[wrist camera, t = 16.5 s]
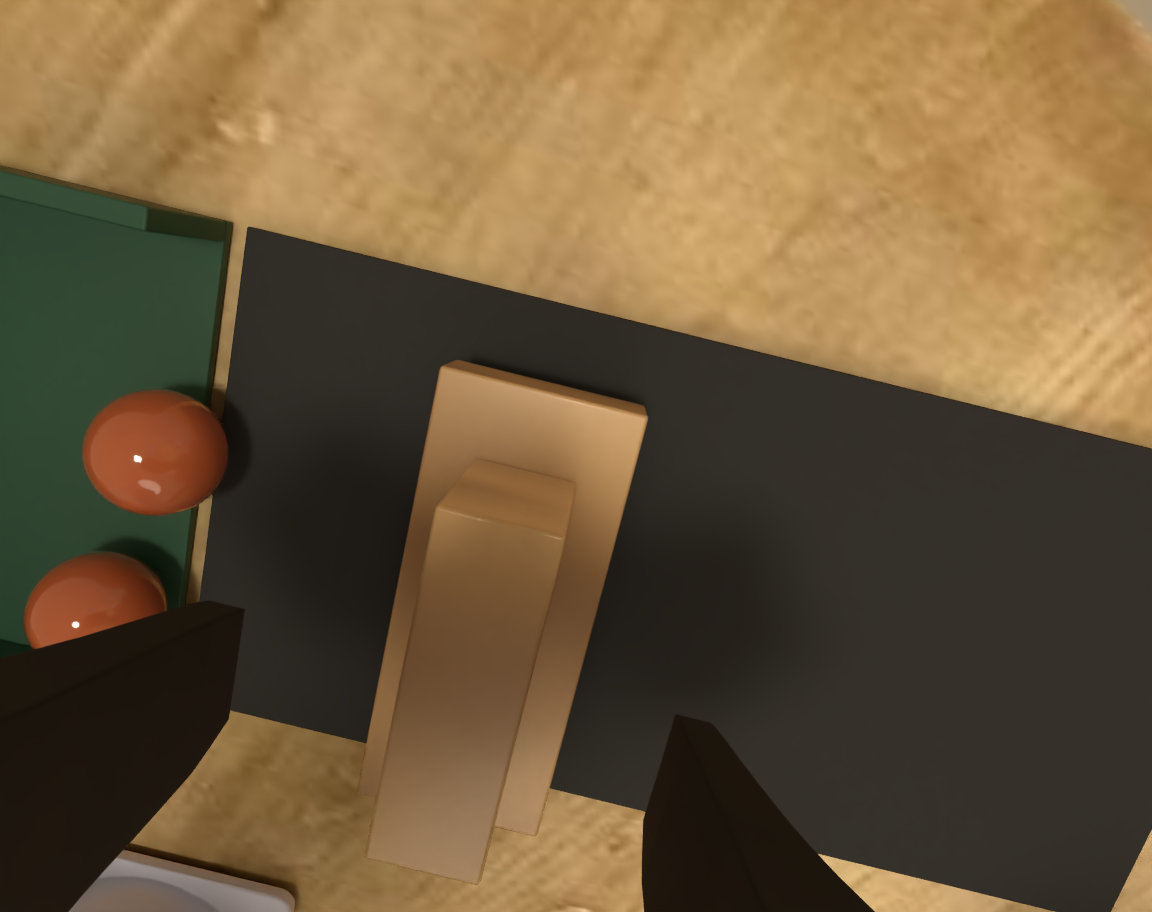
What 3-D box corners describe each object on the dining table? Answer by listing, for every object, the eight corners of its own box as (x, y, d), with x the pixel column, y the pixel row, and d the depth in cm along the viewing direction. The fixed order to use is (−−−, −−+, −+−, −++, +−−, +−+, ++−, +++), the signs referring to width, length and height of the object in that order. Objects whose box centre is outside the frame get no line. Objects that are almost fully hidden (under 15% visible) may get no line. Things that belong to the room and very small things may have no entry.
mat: (1098, 914, 20) (1105, 924, 20) (192, 694, 20) (186, 700, 20) (1309, 487, 18) (1320, 490, 17) (252, 227, 18) (247, 226, 17)
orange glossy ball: (141, 350, 17) (201, 378, 16) (216, 436, 20) (276, 468, 18) (28, 434, 16) (79, 473, 14) (121, 516, 18) (176, 559, 16)
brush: (547, 758, 20) (517, 974, 14) (393, 720, 20) (291, 919, 14) (643, 396, 18) (660, 452, 11) (468, 353, 18) (386, 386, 11)
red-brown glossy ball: (-17, 673, 17) (96, 639, 20) (85, 705, 16) (187, 665, 19) (-2, 549, 17) (110, 533, 20) (101, 576, 16) (201, 556, 19)
